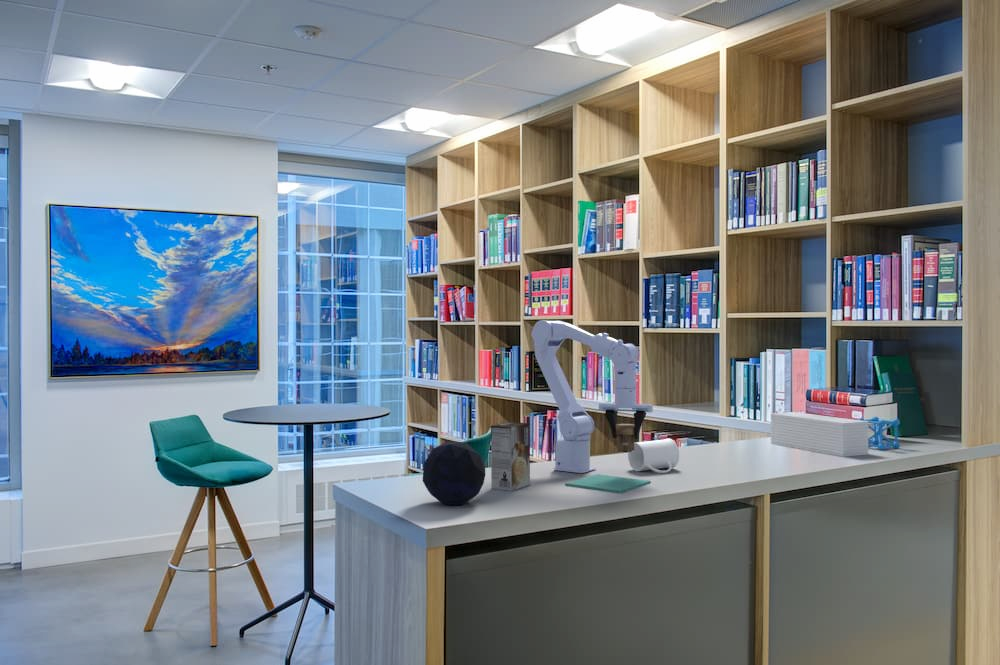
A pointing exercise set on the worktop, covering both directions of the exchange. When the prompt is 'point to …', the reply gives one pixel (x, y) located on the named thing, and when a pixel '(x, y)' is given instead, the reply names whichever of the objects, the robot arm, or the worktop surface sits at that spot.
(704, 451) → the worktop surface
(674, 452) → the mug
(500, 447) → the coffee box
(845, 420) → the stack of papers
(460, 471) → the decorative orb
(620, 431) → the walnut stool
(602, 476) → the teal mat
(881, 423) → the molecular structure
